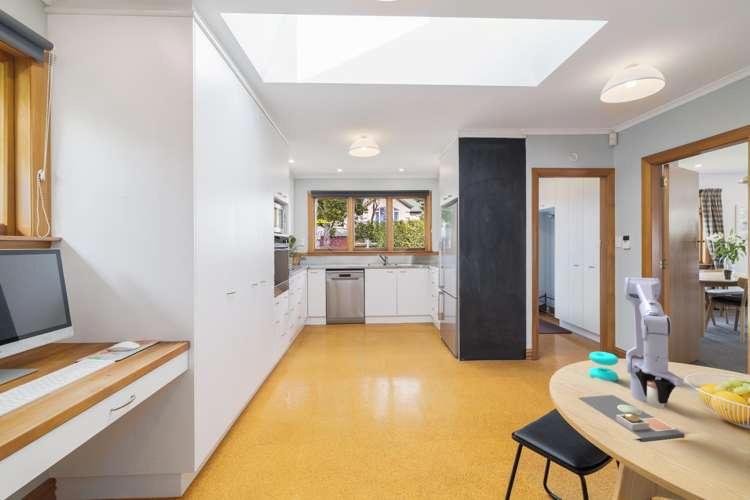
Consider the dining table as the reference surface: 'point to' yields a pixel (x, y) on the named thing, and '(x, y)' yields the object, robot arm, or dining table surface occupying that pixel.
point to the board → (645, 429)
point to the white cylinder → (653, 395)
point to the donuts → (603, 359)
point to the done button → (632, 417)
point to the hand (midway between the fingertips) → (655, 399)
